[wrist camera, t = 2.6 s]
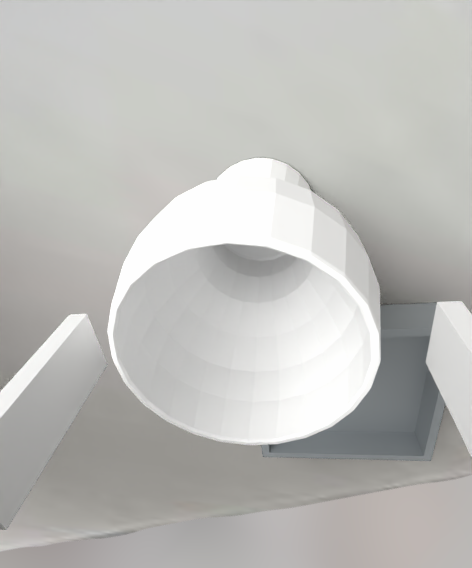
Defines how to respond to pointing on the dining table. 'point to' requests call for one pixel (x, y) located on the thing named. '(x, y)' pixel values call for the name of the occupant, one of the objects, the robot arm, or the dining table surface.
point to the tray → (386, 400)
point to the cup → (248, 310)
